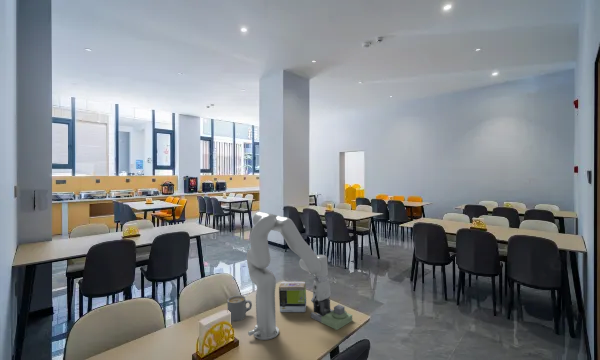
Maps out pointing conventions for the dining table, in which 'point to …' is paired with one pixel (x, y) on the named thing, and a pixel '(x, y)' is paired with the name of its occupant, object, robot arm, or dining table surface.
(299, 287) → the tea box
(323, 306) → the chute
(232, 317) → the coffee mug
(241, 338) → the dining table surface
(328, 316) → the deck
